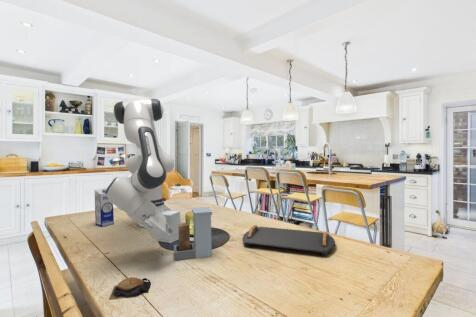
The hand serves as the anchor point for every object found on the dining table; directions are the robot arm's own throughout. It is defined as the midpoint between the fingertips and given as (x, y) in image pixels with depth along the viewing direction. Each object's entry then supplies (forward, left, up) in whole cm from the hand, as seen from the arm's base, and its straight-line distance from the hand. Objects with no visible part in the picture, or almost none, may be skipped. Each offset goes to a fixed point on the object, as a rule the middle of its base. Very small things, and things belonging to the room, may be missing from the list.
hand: (172, 235), depth 98 cm
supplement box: (-16, -11, -8) cm, 21 cm away
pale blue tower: (-4, +7, -8) cm, 11 cm away
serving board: (-25, +41, -9) cm, 49 cm away
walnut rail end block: (-2, +4, -8) cm, 9 cm away
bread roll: (+24, 0, -9) cm, 26 cm away
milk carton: (-29, -60, -8) cm, 67 cm away
